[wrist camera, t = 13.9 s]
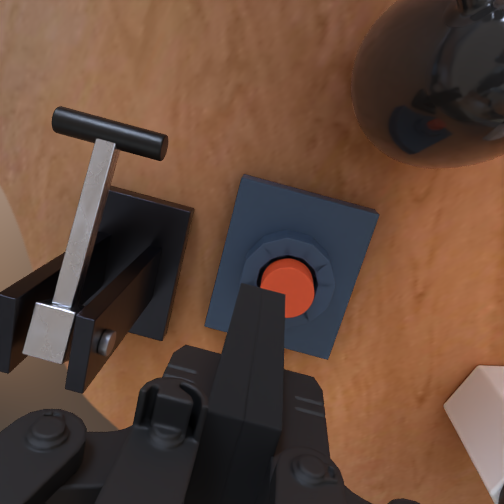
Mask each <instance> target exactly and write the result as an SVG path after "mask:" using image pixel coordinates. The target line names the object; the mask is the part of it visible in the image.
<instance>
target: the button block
mask: <svg viewBox="0 0 504 504" xmlns="http://www.w3.org/2000/svg"><path fill="white" fill-rule="evenodd" d="M378 218H379V214H378V213H377V212H376V210H375V209H371V208H368V207H364V206H360V205H357V204H353V203H349V202H345V201H342V200H338V199H334V198H331V197H327V196H323V195H320V194H316V193H312V192H309V191H305V190H301V189H298V188H294V187H290V186H287V185H283V184H279V183H275V182H272V181H268V180H264V179H261V178H257V177H253V176H250V175H246V174H244V175H243V176H242V178H241V182H240V186H239V190H238V194H237V198H236V202H235V206H234V210H233V214H232V218H231V222H230V226H229V230H228V234H227V238H226V242H225V246H224V250H223V254H222V258H221V262H220V266H219V269H218V273H217V277H216V281H215V285H214V289H213V293H212V297H211V301H210V305H209V309H208V313H207V317H206V321H205V325H204V326H205V327H208V328H212V329H216V330H220V331H223V332H228V329H229V325H230V321H231V318H232V314H233V311H234V307H235V303H236V300H237V296H238V293H239V289H240V286H241V283H244V284H248V285H252V286H256V287H259V288H260V286H261V280H262V275H263V273H264V271H265V269H266V268H267V267H268V266H269V265H270V264H271V263H272V262H274V261H276V260H279V259H283V258H291V259H295V260H298V261H300V262H302V263H303V264H304V265H306V266H307V268H308V269H309V270H310V272H311V274H312V278H313V284H314V293H315V294H314V300H313V302H312V304H311V306H310V307H309V309H308V310H307V311H305V312H304V313H303V314H301V315H299V316H296V317H292V318H285V335H284V348H286V349H290V350H293V351H297V352H301V353H305V354H308V355H312V356H316V357H319V358H323V359H327V360H328V358H329V356H330V353H331V350H332V347H333V344H334V342H335V339H336V336H337V333H338V330H339V327H340V325H341V322H342V319H343V316H344V313H345V311H346V308H347V305H348V302H349V299H350V296H351V294H352V291H353V288H354V285H355V282H356V280H357V277H358V274H359V271H360V268H361V265H362V263H363V260H364V257H365V254H366V251H367V249H368V246H369V243H370V240H371V237H372V234H373V232H374V229H375V226H376V223H377V220H378Z"/></svg>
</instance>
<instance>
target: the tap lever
mask: <svg viewBox="0 0 504 504" xmlns="http://www.w3.org/2000/svg"><path fill="white" fill-rule="evenodd" d="M52 128H53V130H54V132H56V133H59V134H62V135H66V136H70V137H73V138H77V139H81V140H84V141H88V142H92V143H95V145H94V149H93V152H92V156H91V160H90V163H89V167H88V171H87V174H86V178H85V182H84V186H83V189H82V193H81V197H80V200H79V204H78V208H77V211H76V215H75V219H74V222H73V226H72V230H71V233H70V237H69V241H68V245H67V248H66V252H65V256H64V259H63V263H62V267H61V270H60V274H59V278H58V281H57V285H56V289H55V293H54V296H53V298H51V299H47V300H43V301H39V302H36V303H35V306H34V310H33V313H32V317H31V321H30V324H29V328H28V332H27V335H26V339H25V343H24V346H23V350H22V354H25V355H29V356H32V357H36V358H40V359H43V360H47V361H51V362H54V363H58V364H63V363H65V362H67V361H68V360H69V358H70V351H71V345H72V338H73V331H74V325H75V318H76V315H77V314H78V313H79V312H80V311H81V310H82V309H83V308H84V307H85V305H81V304H79V300H80V296H81V293H82V289H83V285H84V282H85V278H86V274H87V270H88V267H89V263H90V259H91V256H92V252H93V248H94V245H95V241H96V237H97V234H98V230H99V226H100V222H101V219H102V215H103V211H104V208H105V204H106V200H107V197H108V193H109V189H110V186H111V182H112V178H113V174H114V171H115V167H116V163H117V160H118V156H119V152H120V150H121V151H125V152H129V153H132V154H136V155H140V156H143V157H147V158H151V159H154V160H158V161H162V160H163V159H164V157H165V155H166V152H167V148H168V136H167V135H165V134H161V133H158V132H154V131H150V130H147V129H143V128H139V127H135V126H132V125H128V124H124V123H121V122H117V121H113V120H110V119H106V118H102V117H99V116H95V115H91V114H88V113H84V112H80V111H77V110H73V109H69V108H66V107H62V106H60V107H57V108H56V109H55V111H54V113H53V117H52Z"/></svg>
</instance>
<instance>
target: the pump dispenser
mask: <svg viewBox="0 0 504 504" xmlns="http://www.w3.org/2000/svg"><path fill="white" fill-rule="evenodd" d="M351 98H352V104H353V109H354V112H355V115H356V118H357V121H358V123H359V125H360V127H361V129H362V130H363V132H364V134H365V135H366V136H367V138H368V139H369V140H370V141H371V143H372V144H373V145H374V146H375V147H377V148H378V149H379V150H380V151H381V152H383V153H384V154H386V155H387V156H389V157H391V158H392V159H394V160H396V161H399V162H401V163H404V164H407V165H410V166H415V167H420V168H428V169H446V168H458V167H465V166H470V165H475V164H479V163H482V162H486V161H489V160H491V159H494V158H497V157H499V156H501V155H504V0H397V1H396V2H395V3H394V4H392V5H391V6H390V7H389V8H388V9H387V10H386V11H385V12H384V13H383V14H382V15H381V16H380V17H379V18H378V19H377V20H376V21H375V23H374V24H373V25H372V27H371V28H370V29H369V31H368V32H367V34H366V36H365V37H364V39H363V41H362V43H361V45H360V47H359V50H358V52H357V55H356V58H355V61H354V65H353V70H352V77H351Z"/></svg>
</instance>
